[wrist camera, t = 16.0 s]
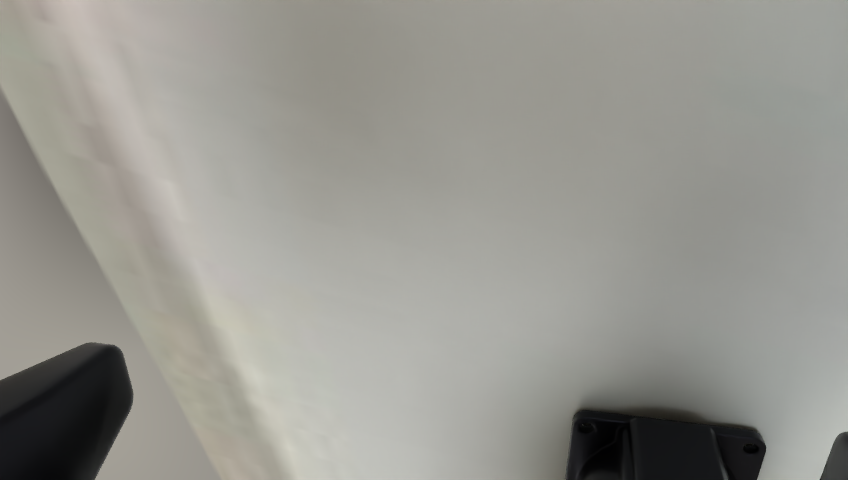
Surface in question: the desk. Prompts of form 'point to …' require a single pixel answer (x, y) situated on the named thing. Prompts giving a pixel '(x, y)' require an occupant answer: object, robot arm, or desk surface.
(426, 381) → the desk surface
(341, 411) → the desk surface
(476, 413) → the desk surface
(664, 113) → the desk surface
